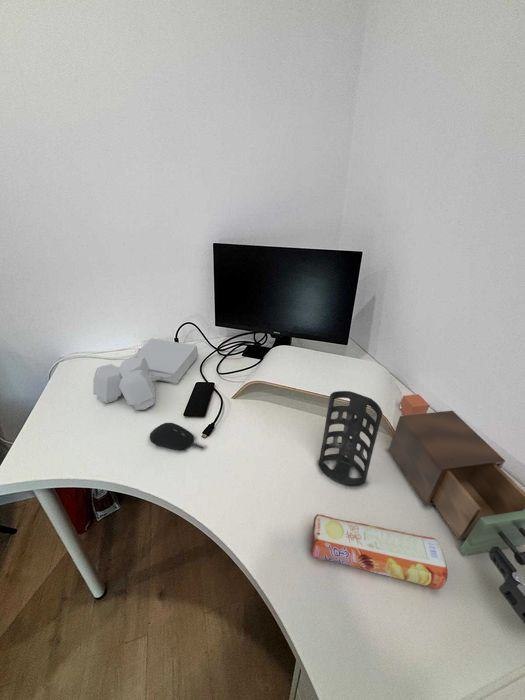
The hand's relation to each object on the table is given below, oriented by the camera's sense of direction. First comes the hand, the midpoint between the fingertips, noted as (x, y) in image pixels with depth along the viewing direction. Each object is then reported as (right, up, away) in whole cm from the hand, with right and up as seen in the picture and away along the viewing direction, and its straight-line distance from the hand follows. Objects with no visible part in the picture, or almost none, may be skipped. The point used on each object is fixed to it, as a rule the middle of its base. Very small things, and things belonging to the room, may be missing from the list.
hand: (514, 544), depth 49 cm
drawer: (-1, -1, +7) cm, 8 cm away
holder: (-24, +5, +20) cm, 31 cm away
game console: (-80, +23, +49) cm, 97 cm away
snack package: (-23, -5, +3) cm, 24 cm away
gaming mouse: (-65, +9, +26) cm, 70 cm away
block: (+1, +14, +36) cm, 39 cm away
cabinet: (-3, +4, +19) cm, 20 cm away
